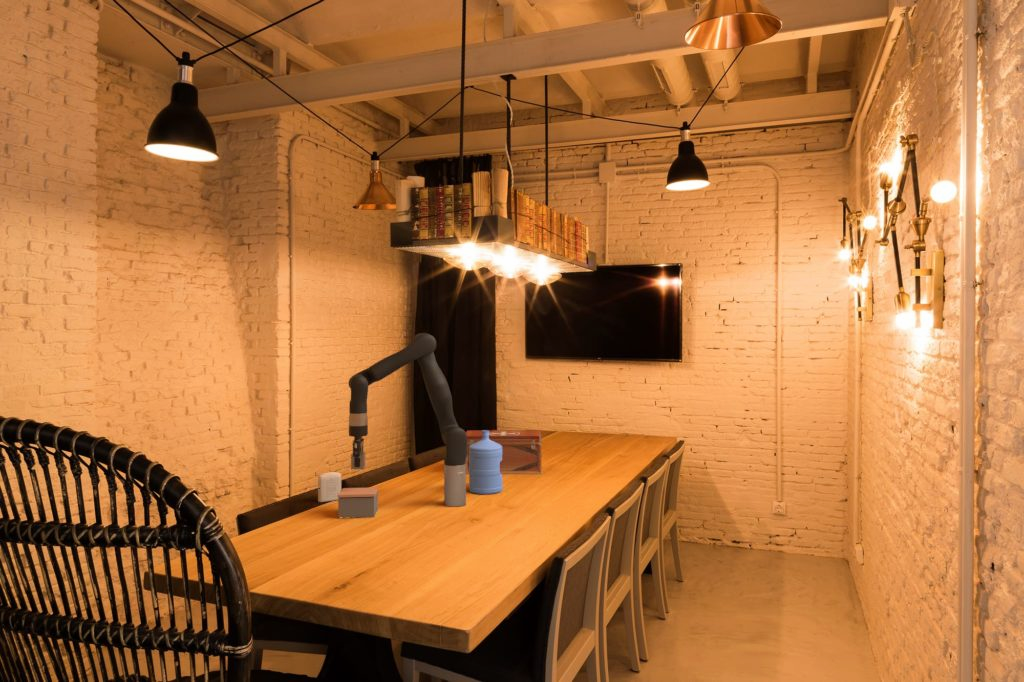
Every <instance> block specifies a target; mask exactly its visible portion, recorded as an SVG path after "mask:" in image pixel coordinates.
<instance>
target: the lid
mask: <svg viewBox="0 0 1024 682" xmlns="http://www.w3.org/2000/svg"><path fill="white" fill-rule="evenodd" d="M377 491H378V492H379V487H377V486H376V487H374V486H373V487H343V488H341V491H340V492H339V494H338V495H337V498H340V497H375V495H376V493H377Z"/></svg>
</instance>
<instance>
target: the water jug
mask: <svg viewBox="0 0 1024 682" xmlns="http://www.w3.org/2000/svg"><path fill="white" fill-rule="evenodd" d="M481 430H482V440H480V441H478V442H476V443H474V444H472V445H470V446H469V474H468V477H469V478H468V479H469V481H468V482H469V483H468V484H469V485H468V490H469V492H470V493H472V494H474V495H475V494H476V495H494V494H499V493H501V492H502V491H503V489H504V485H503V474H500V462H501V461H502V446H501V445H500V444H498V443H496V442H494V441H492V440H490V439H489V430H488V429H484V430H483V429H481Z"/></svg>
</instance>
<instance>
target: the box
mask: <svg viewBox="0 0 1024 682" xmlns="http://www.w3.org/2000/svg"><path fill="white" fill-rule="evenodd" d="M378 493H379V490H378V491H377V493H376V495H375V497H340V498H338V500H337V502H338V503H337V504H338V505H337V506H338V508H337V509H338V510H337V511H338V512H337V513H338V517H339V518H338V519H341V518H340V517H343V518H342V519H346V518H345V517H374V516H375V517H376V515H377V513H376V512H378V510H379V498H378V497H379V494H378ZM375 514H376V515H375ZM375 517H374V518H375Z"/></svg>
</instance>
